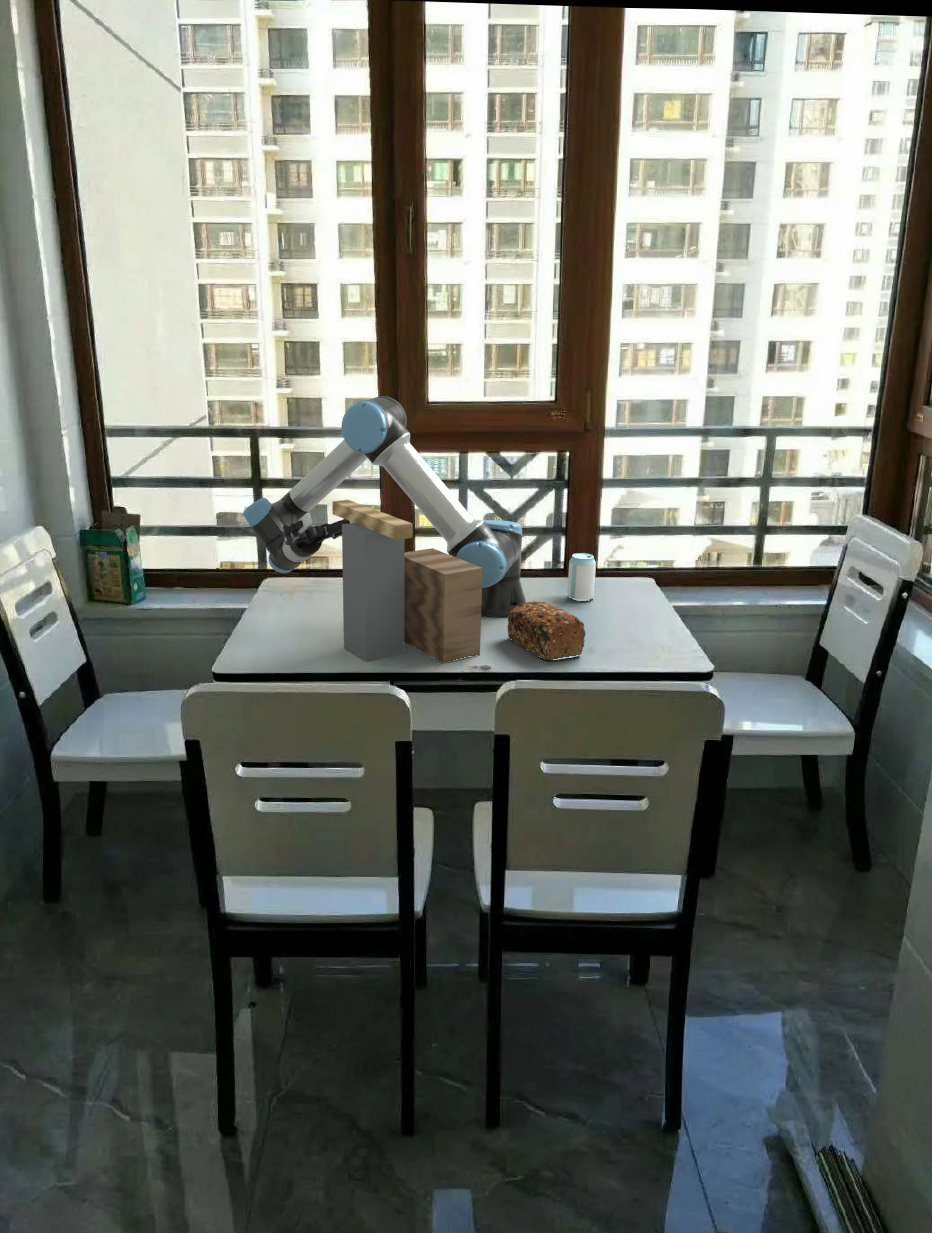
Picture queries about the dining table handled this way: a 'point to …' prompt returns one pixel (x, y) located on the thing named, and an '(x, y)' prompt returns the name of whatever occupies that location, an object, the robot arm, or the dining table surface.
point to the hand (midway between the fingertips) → (336, 515)
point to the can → (581, 576)
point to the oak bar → (373, 519)
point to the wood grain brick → (442, 605)
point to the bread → (546, 630)
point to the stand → (372, 593)
